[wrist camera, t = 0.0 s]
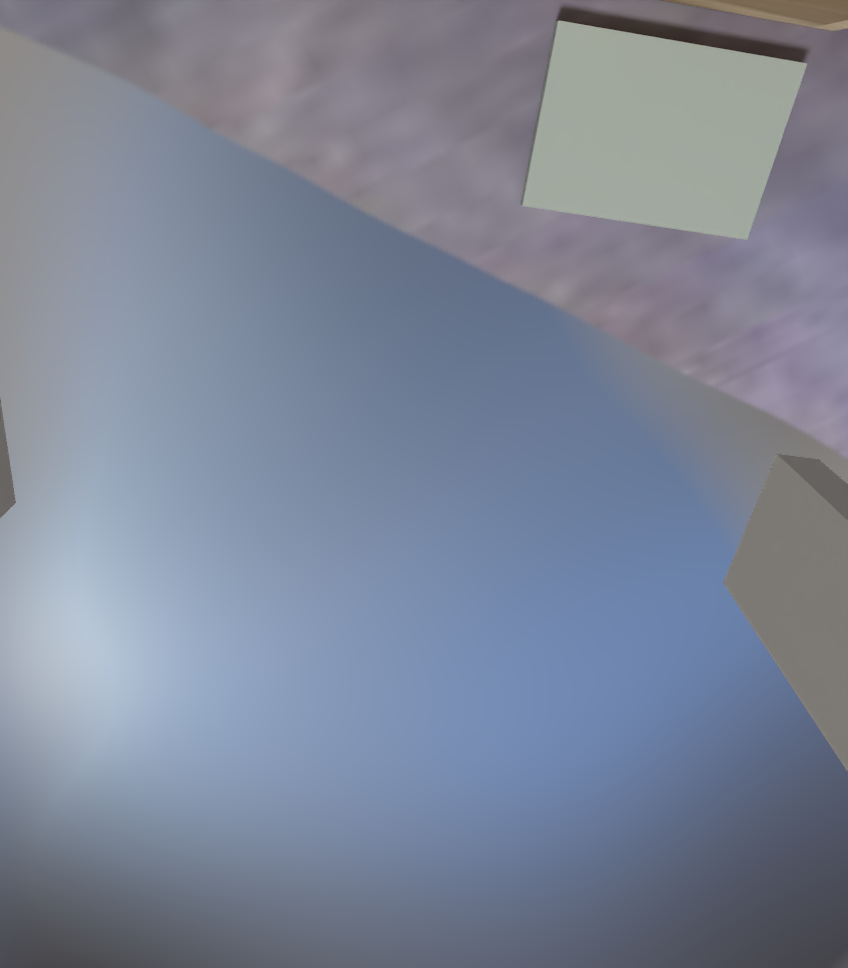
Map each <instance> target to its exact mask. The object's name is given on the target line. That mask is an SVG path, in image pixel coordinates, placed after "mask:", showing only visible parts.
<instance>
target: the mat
mask: <svg viewBox="0 0 848 968" xmlns="http://www.w3.org/2000/svg"><path fill="white" fill-rule="evenodd" d="M806 66H807V63H801V62H796V61H790V60H784V59H778V58H773V57H767V56H761V55H755V54H749V53H744V52H738V51H732V50H726V49H721V48H715V47H709V46H703V45H698V44H692V43H686V42H680V41H675V40H669V39H663V38H657V37H651V36H646V35H640V34H634V33H628V32H623V31H617V30H611V29H605V28H600V27H594V26H588V25H582V24H576V23H571V22H565V21H559V20H558V21H557V22H556V25H555V30H554V35H553V40H552V45H551V51H550V56H549V61H548V66H547V71H546V77H545V82H544V87H543V92H542V97H541V102H540V108H539V113H538V118H537V123H536V128H535V134H534V139H533V144H532V149H531V154H530V160H529V165H528V170H527V175H526V180H525V185H524V191H523V196H522V201H521V205H522V206H527V207H534V208H540V209H547V210H554V211H560V212H567V213H573V214H580V215H587V216H593V217H600V218H606V219H613V220H619V221H626V222H633V223H639V224H646V225H652V226H659V227H666V228H672V229H679V230H685V231H692V232H699V233H705V234H712V235H718V236H725V237H731V238H738V239H745V240H747V239H748V236H749V233H750V230H751V227H752V224H753V221H754V218H755V215H756V212H757V209H758V206H759V204H760V201H761V198H762V195H763V192H764V189H765V186H766V183H767V180H768V177H769V174H770V171H771V168H772V165H773V163H774V160H775V157H776V154H777V151H778V148H779V145H780V142H781V139H782V136H783V133H784V130H785V127H786V124H787V122H788V119H789V116H790V113H791V110H792V107H793V104H794V101H795V98H796V95H797V92H798V89H799V86H800V83H801V80H802V78H803V75H804V72H805V69H806Z"/></svg>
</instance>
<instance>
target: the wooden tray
mask: <svg viewBox="0 0 848 968" xmlns="http://www.w3.org/2000/svg"><path fill="white" fill-rule="evenodd" d="M662 1H668V2H674V3H679V4H685V5H691V6H696V7H702V8H707V9H713V10H719V11H724V12H730V13H736V14H741V15H747V16H753V17H758V18H764V19H769V20H775V21H781V22H786V23H792V24H798V25H803V26H809V27H814V28H820V29H826V30H831V31H836V30H841V29H846V28H848V0H662Z"/></svg>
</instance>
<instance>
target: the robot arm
mask: <svg viewBox="0 0 848 968" xmlns="http://www.w3.org/2000/svg"><path fill="white" fill-rule="evenodd" d="M15 503H16V501H15V495H14V488H13V481H12V474H11V468H10V461H9V454H8V447H7V441H6V434H5V427H4V420H3V414H2V407H1V400H0V518H1V517H2V516H3V515H4V514H5V513H6V512H7V511H8V510H9V509H10V508H11V507H12V506H13V505H14V504H15ZM723 583H724V584H725V586H726V587H727V589H728V591H729V592H730V594H731V595H732V597H733V598H734V600H735V601H736V603H737V604H738V606H739V607H740V609H741V610H742V612H743V613H744V615H745V616H746V618H747V619H748V621H749V623H750V624H751V626H752V627H753V629H754V630H755V632H756V633H757V635H758V636H759V638H760V639H761V641H762V642H763V644H764V645H765V647H766V648H767V650H768V651H769V653H770V654H771V656H772V658H773V659H774V661H775V662H776V664H777V665H778V667H779V668H780V670H781V671H782V672H783V674H784V676H785V677H786V679H787V680H788V682H789V683H790V685H791V686H792V688H793V689H794V691H795V692H796V694H797V696H798V697H799V698H800V700H801V702H802V703H803V705H804V706H805V708H806V709H807V711H808V712H809V714H810V715H811V717H812V718H813V720H814V721H815V723H816V724H817V726H818V727H819V729H820V731H821V732H822V733H823V735H824V737H825V738H826V740H827V741H828V743H829V744H830V746H831V747H832V749H833V750H834V752H835V753H836V755H837V756H838V758H839V759H840V761H841V762H842V764H843V765H844V767H845V769H846V770H847V772H848V484H847V483H846V482H844V481H843V480H842V479H841V478H840V477H839V476H837V475H836V474H835V473H834V472H833V471H832V470H830V469H829V468H828V467H827V466H826V465H825V464H823V463H822V462H821V461H820V460H819V459H811V458H803V457H796V456H788V455H780V454H777V455H776V458H775V460H774V462H773V465H772V467H771V470H770V472H769V474H768V477H767V479H766V481H765V484H764V486H763V489H762V491H761V493H760V496H759V498H758V501H757V503H756V506H755V508H754V510H753V513H752V515H751V517H750V520H749V522H748V525H747V527H746V529H745V532H744V534H743V537H742V539H741V541H740V544H739V546H738V549H737V551H736V553H735V556H734V558H733V560H732V563H731V566H730V568H729V570H728V573H727V575H726V577H725V580H724V582H723Z"/></svg>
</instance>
